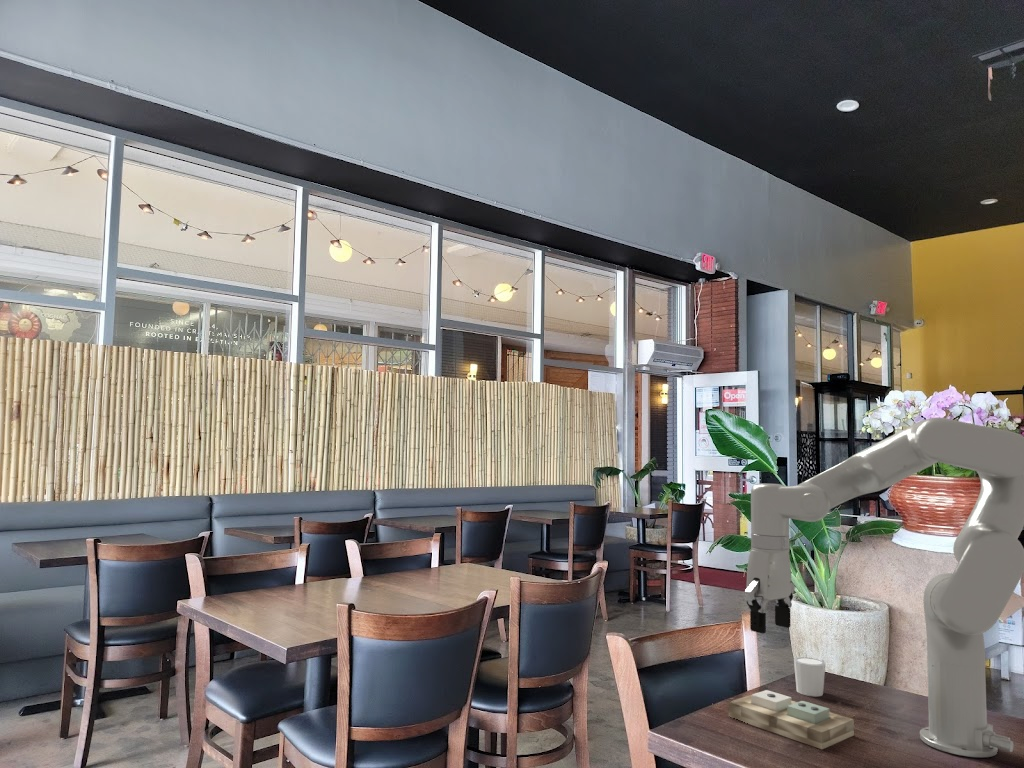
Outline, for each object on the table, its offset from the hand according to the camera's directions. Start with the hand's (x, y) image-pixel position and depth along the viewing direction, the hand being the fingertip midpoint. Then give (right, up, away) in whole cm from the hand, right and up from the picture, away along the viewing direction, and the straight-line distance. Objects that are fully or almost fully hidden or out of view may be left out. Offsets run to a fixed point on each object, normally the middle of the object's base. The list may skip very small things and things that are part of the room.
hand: (770, 628), depth 151 cm
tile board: (+2, -18, -5) cm, 18 cm away
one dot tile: (0, -15, -1) cm, 16 cm away
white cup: (+15, -21, +17) cm, 31 cm away
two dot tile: (+5, -15, -8) cm, 18 cm away
